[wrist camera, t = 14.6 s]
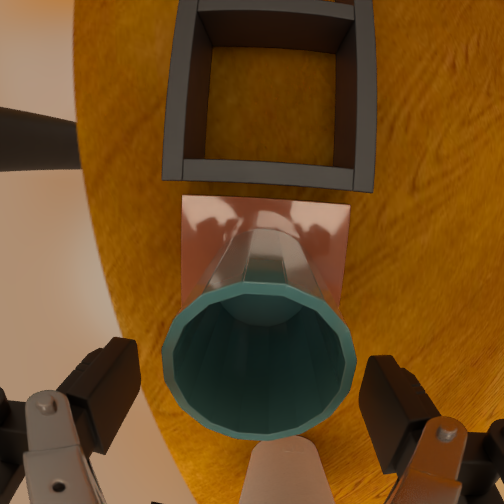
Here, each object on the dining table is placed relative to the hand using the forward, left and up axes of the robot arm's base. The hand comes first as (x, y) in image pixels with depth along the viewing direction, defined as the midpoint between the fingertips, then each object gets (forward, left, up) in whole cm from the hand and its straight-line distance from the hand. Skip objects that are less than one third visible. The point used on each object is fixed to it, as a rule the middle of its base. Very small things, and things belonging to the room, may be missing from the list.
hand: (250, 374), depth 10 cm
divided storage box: (0, +15, -10) cm, 18 cm away
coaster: (0, 0, -10) cm, 10 cm away
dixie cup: (+3, -16, -10) cm, 19 cm away
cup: (0, 0, -10) cm, 10 cm away
